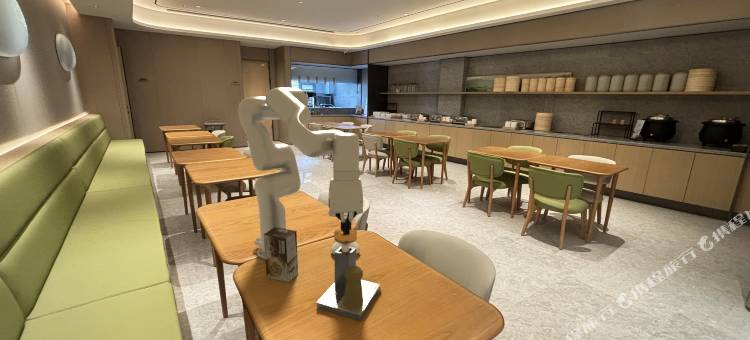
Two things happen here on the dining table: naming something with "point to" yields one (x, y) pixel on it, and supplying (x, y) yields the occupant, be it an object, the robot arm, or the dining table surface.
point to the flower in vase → (338, 245)
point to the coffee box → (281, 254)
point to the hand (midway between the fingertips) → (345, 232)
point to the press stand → (335, 293)
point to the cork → (353, 288)
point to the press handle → (345, 239)
